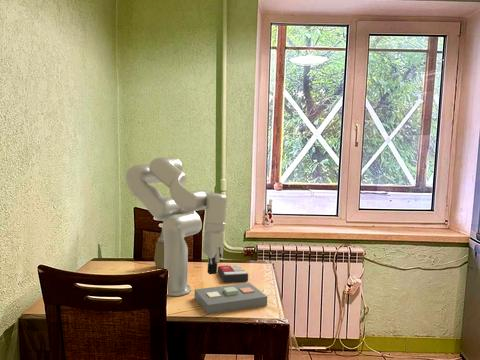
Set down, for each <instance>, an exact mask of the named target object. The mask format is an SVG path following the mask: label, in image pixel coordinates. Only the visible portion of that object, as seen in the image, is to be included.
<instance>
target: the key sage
mask: <svg viewBox="0 0 480 360" xmlns="http://www.w3.org/2000/svg"><path fill="white" fill-rule="evenodd" d="M223 293H224V294H225V295H226V296H231V295H238V290H237V289H236V288H235V287H227V288H223Z"/></svg>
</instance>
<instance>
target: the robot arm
mask: <svg viewBox="0 0 480 360" xmlns="http://www.w3.org/2000/svg"><path fill="white" fill-rule="evenodd" d="M183 169H184V168H183V163H182V162H181V160H180V159H178V158H177V157H173V156H168V157H167V156H164V157H162V156H161V157H156V158H153V159H152V160H151V161H150V163H147V164H142V163H141V164H140V163H139V164H136V165H132V166H130V167H128V169H127V171H126V173H125V182H126V185H127V188H128V190H129V191H130V193H132V195H133V196H134V197H135V198H137V200H139V201H140V202H141V203H142V205H143V206H144V207H145V208H146V209H147V211H148V212H149V213H150V214H151V215H152V216H153V217H154V218H155V219H156V220H157V221H160V222H161V221H162V224H161V232H163V237H164V269H168V271H169V277H168V295H167V296H169V297H178V296H179V297H180V296H184V295H188V294H190V293H191V292H192V288H191V286H190V285H189V284H188V269H189V268H188V267H189V266H188V261H189V260H188V259H189V257H188V255H189V247H188V245H187V242H186V240H185V238H186V237H190V236H193V235H196V234H199V232H200V231H201V230H202V229H203V228H202V227H203V222H202V220H201V217H200V215H199V214H198V213H197V212H198V211H204V210H205V220H204V221H205V222H204V233H203V234H204V235H203V242H202V243H203V244H202V245H203V246H202V252H203V253H204V255H206V256H207V274H208V275H216V274H218V264H219V263H220V259H221V258H223V256H224V254H223V253H224V232H225V231H226V230H225V229H226V215H227V213H226V212H227V196H226V195H225V194H223V193H217V192H213V191H211V190H208V189H202V190H193V191H189V190H188V189H186V188H185V184H186V181H187V176H186V174H185V172H183ZM157 183H158V184H159V183H162V184H164V185H165V186H166V187H167V188H169V194H170V196H164V195H163V194H162V193H161V192H160V190H159V189H157V188H156V187H154V186H152V185H151V184H157ZM196 211H197V212H196ZM164 269H163V270H164Z"/></svg>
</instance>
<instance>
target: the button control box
mask: <svg viewBox="0 0 480 360" xmlns="http://www.w3.org/2000/svg"><path fill="white" fill-rule="evenodd" d="M217 274H218V275H219V277H220V278H221V281H223V284H225V283H227V284H228V283H230V284H231V283H242V282H244V283H248V282H249V273H248V272H247V271H246V270H245V269H244V267H242V266H241V265H240V264H232V265H231V264H229V265H227V264H226V265H218V266H217Z"/></svg>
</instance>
